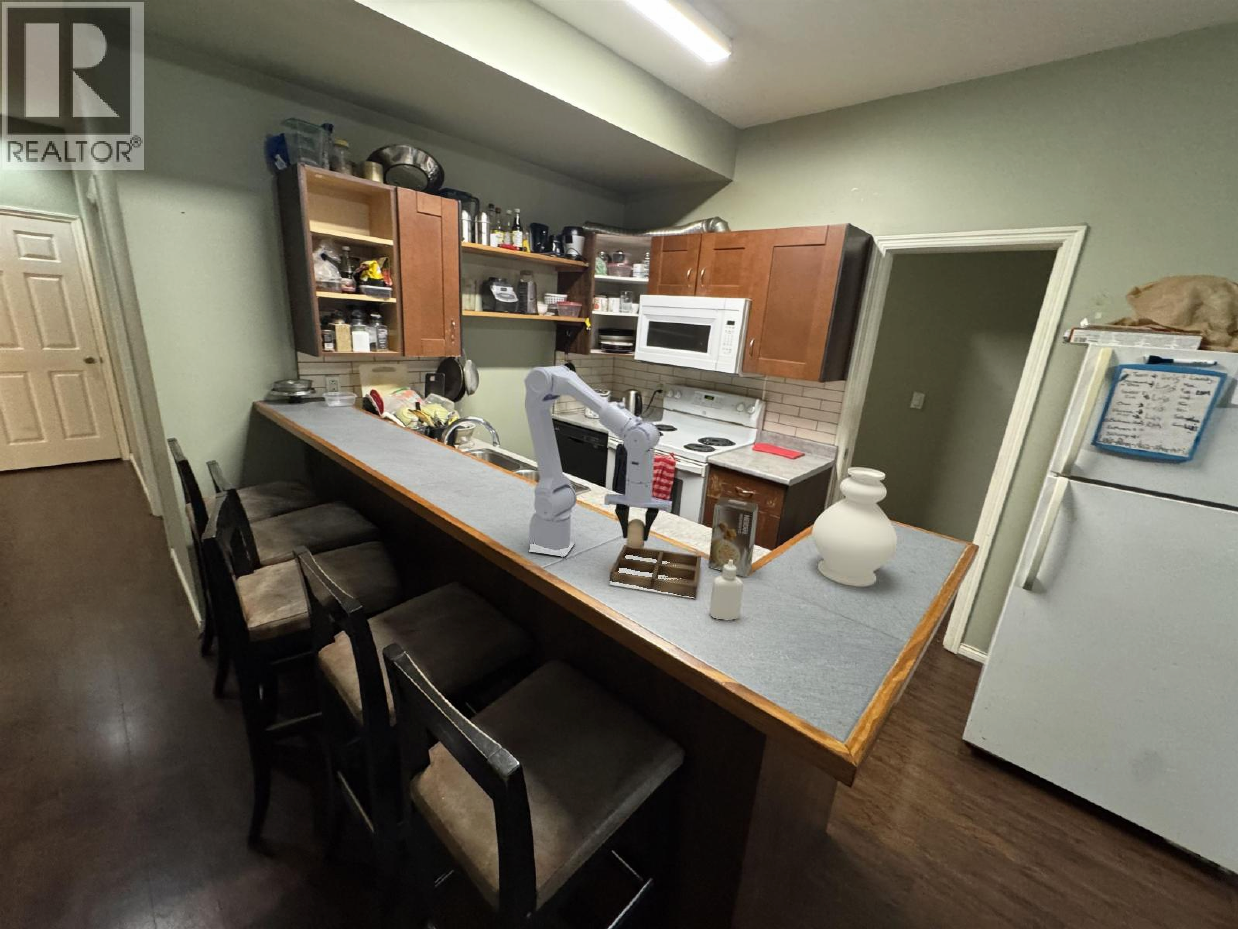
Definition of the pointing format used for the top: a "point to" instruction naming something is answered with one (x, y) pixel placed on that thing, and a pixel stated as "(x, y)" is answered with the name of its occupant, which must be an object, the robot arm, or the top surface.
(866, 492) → the decorative vase
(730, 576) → the eye dropper bottle
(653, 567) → the crate
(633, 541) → the cylinder
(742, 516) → the coffee box
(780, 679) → the top surface
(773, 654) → the top surface
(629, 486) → the robot arm
